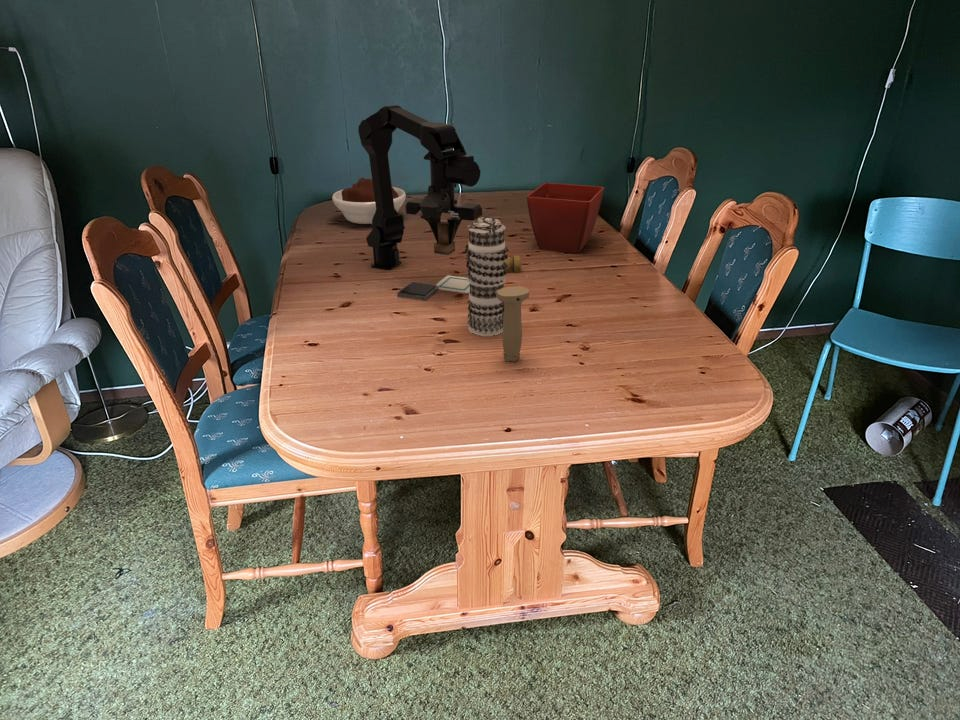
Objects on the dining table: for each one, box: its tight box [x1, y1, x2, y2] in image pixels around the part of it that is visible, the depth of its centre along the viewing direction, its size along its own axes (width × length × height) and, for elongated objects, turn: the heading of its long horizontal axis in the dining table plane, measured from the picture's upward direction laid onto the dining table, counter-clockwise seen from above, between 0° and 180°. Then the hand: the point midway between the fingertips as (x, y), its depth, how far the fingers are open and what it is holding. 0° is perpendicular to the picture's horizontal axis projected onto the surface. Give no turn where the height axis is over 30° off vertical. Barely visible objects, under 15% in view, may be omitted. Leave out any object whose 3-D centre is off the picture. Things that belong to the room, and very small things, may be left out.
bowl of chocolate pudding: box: [331, 177, 407, 225], centre depth 221 cm, size 25×25×15 cm
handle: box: [497, 285, 530, 363], centre depth 129 cm, size 5×6×15 cm
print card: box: [435, 274, 470, 295], centre depth 170 cm, size 10×10×1 cm
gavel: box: [503, 255, 522, 273], centre depth 186 cm, size 21×5×10 cm
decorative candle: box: [464, 216, 509, 337], centre depth 140 cm, size 9×9×25 cm
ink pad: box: [396, 281, 439, 302], centre depth 165 cm, size 8×8×1 cm
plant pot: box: [526, 182, 605, 254], centre depth 195 cm, size 19×19×17 cm
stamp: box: [433, 221, 456, 256], centre depth 162 cm, size 4×4×7 cm
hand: (444, 242), depth 163 cm, fingers closed on stamp, 3 cm apart
